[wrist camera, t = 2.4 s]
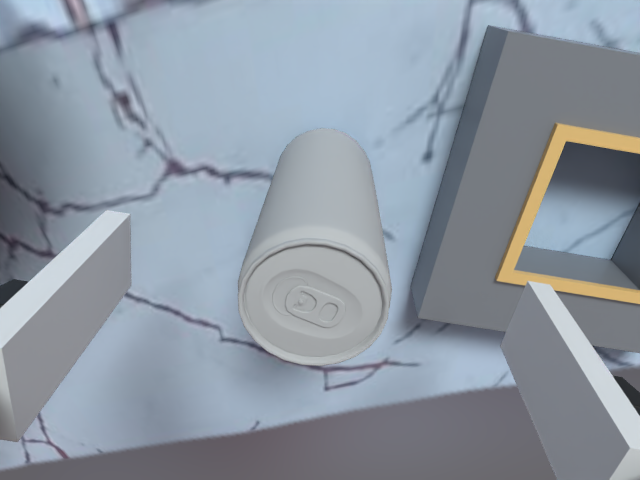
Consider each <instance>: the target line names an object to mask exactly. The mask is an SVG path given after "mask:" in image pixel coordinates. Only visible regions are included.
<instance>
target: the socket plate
mask: <svg viewBox="0 0 640 480" xmlns="http://www.w3.org/2000/svg"><path fill="white" fill-rule="evenodd" d="M566 141H569V142H575V143H581V144H586V145H592V146H598V147H604V148H609V149H615V150H621V151H626V152H632V153H638V154H640V53H637V52H631V51H626V50H621V49H615V48H610V47H604V46H599V45H593V44H588V43H582V42H577V41H571V40H566V39H561V38H555V37H550V36H544V35H539V34H533V33H528V32H522V31H517V30H511V29H506V28H500V27H495V26H490V25H488V28H487V31H486V35H485V38H484V41H483V45H482V48H481V52H480V55H479V58H478V62H477V65H476V68H475V72H474V75H473V79H472V82H471V85H470V89H469V92H468V95H467V99H466V102H465V105H464V109H463V112H462V116H461V119H460V122H459V126H458V129H457V132H456V136H455V139H454V143H453V146H452V149H451V153H450V156H449V159H448V163H447V166H446V169H445V173H444V176H443V180H442V183H441V186H440V190H439V193H438V196H437V200H436V203H435V207H434V210H433V213H432V217H431V220H430V223H429V227H428V230H427V233H426V237H425V240H424V244H423V247H422V250H421V254H420V257H419V260H418V264H417V267H416V271H415V274H414V277H413V281H412V284H411V290H412V294H413V299H414V303H415V308H416V312H417V317H418V318H421V319H427V320H433V321H440V322H446V323H452V324H459V325H465V326H471V327H478V328H484V329H490V330H497V331H503V332H506V331H507V329H508V326H509V324H510V321H511V319H512V317H513V314H514V312H515V310H516V307H517V305H518V302H519V300H520V298H521V295H522V293H523V291H524V288H525V286H526V283H527V281H532V282H538V283H544V284H550V285H551V286H552V288H553V289H554V291H555V292H556V294H557V295H558V297H559V298H560V300H561V301H562V303H563V304H564V306H565V307H566V308H567V310H568V311H569V313H570V314H571V316H572V317H573V319H574V320H575V322H576V323H577V325H578V326H579V328H580V329H581V331H582V332H583V333H584V335H585V336H586V338H587V339H588V341H589V342H590V344H591V345H592V346H598V347H605V348H611V349H617V350H624V351H630V352H636V353H640V204H639V206H638V208H637V210H636V212H635V214H634V216H633V218H632V220H631V222H630V224H629V226H628V228H627V230H626V232H625V234H624V236H623V238H622V240H621V242H620V244H619V246H618V248H617V249H616V251H615V253H614V255H613V257H612V259H611V260H607V259H601V258H595V257H589V256H583V255H577V254H571V253H565V252H559V251H552V250H546V249H540V248H534V247H528V246H524V244H525V241H526V239H527V236H528V234H529V231H530V229H531V226H532V224H533V221H534V219H535V217H536V214H537V212H538V209H539V207H540V204H541V202H542V199H543V197H544V194H545V192H546V189H547V187H548V185H549V182H550V180H551V177H552V175H553V172H554V170H555V167H556V165H557V162H558V160H559V157H560V155H561V152H562V150H563V148H564V145H565V143H566Z"/></svg>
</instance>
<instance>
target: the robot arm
mask: <svg viewBox="0 0 640 480" xmlns="http://www.w3.org/2000/svg"><path fill="white" fill-rule="evenodd" d="M130 287H131V228H130V214H127V213H121V212H115V211H109V210H106V211H105V212H104V213H103V214H102V215H101V216H99V217H98V218H97V219H96V220H95V221H94V222H93V223H92V224H91V225H90V226H89V227H88V228H87V229H85V230H84V231H83V232H82V233H81V234H80V235H79V236H78V237H77V238H76V239H75V240H74V241H72V242H71V243H70V244H69V245H68V246H67V247H66V248H65V249H64V250H63V251H62V252H61V253H59V254H58V255H57V256H56V257H55V258H54V259H53V260H52V261H51V262H50V263H49V264H48V265H46V266H45V267H44V268H43V269H42V270H41V271H40V272H39V273H38V274H37V275H36V276H35V277H34V278H32V279H31V280H30V281H29V282H27V281H21V280H15V279H14V280H12V281H9V282H7V283H5V284H3V285H1V286H0V440H7V441H13V442H18V441H19V440H20V439H21V437H22V436H23V434H24V433H25V432H26V430H27V429H28V427H29V426H30V425H31V423H32V422H33V421H34V419H35V418H36V416H37V415H38V414H39V412H40V411H41V410H42V408H43V407H44V405H45V404H46V403H47V401H48V400H49V399H50V397H51V396H52V394H53V393H54V392H55V390H56V389H57V387H58V386H59V385H60V383H61V382H62V381H63V379H64V378H65V376H66V375H67V374H68V372H69V371H70V370H71V368H72V367H73V365H74V364H75V363H76V361H77V360H78V358H79V357H80V356H81V354H82V353H83V352H84V350H85V349H86V347H87V346H88V345H89V343H90V342H91V341H92V339H93V338H94V336H95V335H96V334H97V332H98V331H99V330H100V328H101V327H102V325H103V324H104V323H105V321H106V320H107V318H108V317H109V316H110V314H111V313H112V312H113V310H114V309H115V307H116V306H117V305H118V303H119V302H120V301H121V299H122V298H123V296H124V295H125V294H126V292H127V291H128V289H129V288H130ZM500 347H501V349H502V351H503V354H504V356H505V358H506V361H507V363H508V365H509V368H510V370H511V372H512V375H513V377H514V379H515V382H516V384H517V387H518V389H519V391H520V394H521V396H522V398H523V401H524V403H525V405H526V407H527V410H528V412H529V415H530V417H531V419H532V422H533V424H534V426H535V429H536V431H537V434H538V436H539V438H540V441H541V443H542V445H543V448H544V450H545V452H546V454H547V457H548V459H549V462H550V464H551V466H552V469H553V471H554V474H555V476H556V478H557V480H640V393H639V392H638V391H637V390H636V389H635V388H634V387H633V386H631V385H630V384H629V383H628V382H627V381H626V380H625V379H623V378H622V377H618V376H612V375H611V373H610V372H609V370H608V369H607V367H606V366H605V364H604V363H603V361H602V360H601V358H600V357H599V355H598V354H597V353H596V351H595V350H594V348H593V347H592V345H591V344H590V342H589V341H588V339H587V338H586V336H585V335H584V333H583V332H582V331H581V329H580V328H579V326H578V325H577V323H576V322H575V320H574V319H573V317H572V316H571V314H570V313H569V311H568V310H567V308H566V307H565V306H564V304H563V303H562V301H561V300H560V298H559V297H558V295H557V294H556V292H555V291H554V289H553V288H552V286H551V285H550V284H544V283H538V282H532V281H527V283H526V286H525V288H524V291H523V293H522V295H521V298H520V300H519V302H518V305H517V307H516V310H515V312H514V314H513V317H512V319H511V321H510V324H509V326H508V329H507V331H506V333H505V336H504V338H503V340H502V343H501V345H500Z"/></svg>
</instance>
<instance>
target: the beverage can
mask: <svg viewBox="0 0 640 480" xmlns="http://www.w3.org/2000/svg"><path fill="white" fill-rule="evenodd" d="M238 292H239V293H238V307H239V314H240V316H241V319H242V322H243V324H244V327H245V328H246V330H247V331H248V333H249V334H250V335H251V337H252V338H253V339H254V341H255V342H256V343H258V344H259V345H260V346H261V347H263V348H264V349H265V350H266V351H267V352H269V353H271V354H273V355H275V356H277V357H279V358H281V359H283V360H286V361H289V362H293V363H297V364H301V365H315V366H322V365H329V364H336V363H340V362H343V361H345V360H348V359H351V358H353V357H355V356H357V355H358V354H360V353H361V352H363V351H364V350H366V349H367V348H369V347H370V346H371V345H372V344H373V342H374V341H375V340H376V339H377V338H378V337H379V336H380V334H381V332H382V330H383V328H384V326H385V324H386V321H387V319H388V311H389V307H390V300H391V292H392V286H391V280H390V274H389V268H388V262H387V256H386V249H385V243H384V237H383V231H382V225H381V219H380V213H379V207H378V201H377V196H376V190H375V185H374V180H373V174H372V170H371V165H370V161H369V159H368V157H367V155H366V153H365V151H364V150H363V149H362V147H361V146H360V145H359V144H358V143H357V141H356V140H354V139H353V138H352V137H350V136H349V135H348V134H346V133H344V132H341V131H338V130H335V129H325V128H319V129H315V130H310V131H307V132H305V133H303V134H301V135H299V136H297V137H296V138H294V139H293V140H292V141H291V142H290V143H289V144H288V145H287V146H286V148H285V149H284V151H283V153H282V154H281V156H280V159H279V162H278V165H277V167H276V170H275V173H274V176H273V179H272V182H271V185H270V187H269V190H268V193H267V196H266V199H265V202H264V204H263V207H262V210H261V213H260V216H259V219H258V222H257V224H256V227H255V230H254V233H253V236H252V239H251V241H250V244H249V247H248V250H247V253H246V256H245V259H244V261H243V265H242V269H241V272H240V276H239V280H238Z"/></svg>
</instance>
